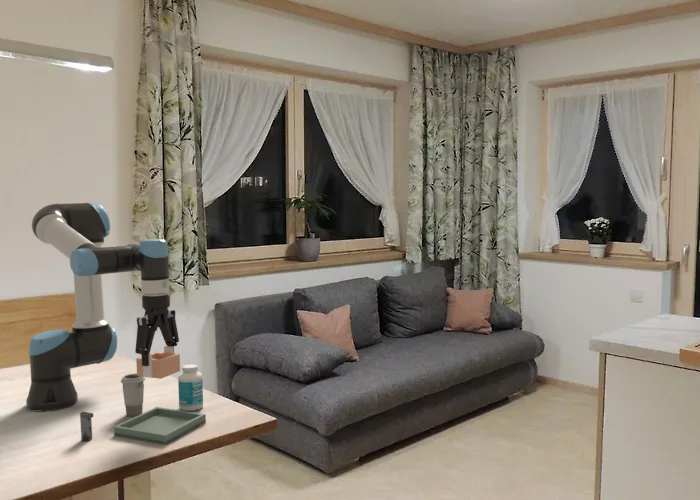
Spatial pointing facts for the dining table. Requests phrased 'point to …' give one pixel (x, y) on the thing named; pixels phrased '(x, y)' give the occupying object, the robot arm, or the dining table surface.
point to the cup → (133, 394)
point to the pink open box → (161, 364)
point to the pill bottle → (190, 388)
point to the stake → (86, 426)
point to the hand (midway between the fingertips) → (159, 372)
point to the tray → (160, 425)
